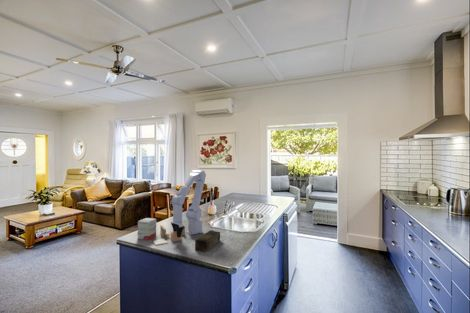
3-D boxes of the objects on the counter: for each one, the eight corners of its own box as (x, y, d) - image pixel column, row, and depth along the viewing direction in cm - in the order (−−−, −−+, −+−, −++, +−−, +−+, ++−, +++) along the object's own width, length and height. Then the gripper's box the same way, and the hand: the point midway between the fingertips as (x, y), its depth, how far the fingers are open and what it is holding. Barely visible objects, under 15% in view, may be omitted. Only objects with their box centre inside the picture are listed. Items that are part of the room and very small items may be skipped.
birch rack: (180, 230, 162) (180, 222, 162) (184, 235, 153) (184, 226, 153) (160, 233, 155) (160, 225, 155) (163, 238, 146) (164, 229, 146)
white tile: (164, 239, 145) (164, 238, 145) (167, 243, 139) (167, 242, 139) (153, 241, 141) (153, 240, 141) (155, 245, 135) (155, 244, 135)
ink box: (156, 235, 151) (156, 218, 151) (148, 240, 143) (148, 222, 143) (145, 234, 154) (145, 217, 153) (137, 238, 145) (137, 220, 145)
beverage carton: (220, 240, 144) (220, 230, 144) (206, 253, 127) (206, 241, 126) (209, 239, 147) (209, 229, 147) (194, 250, 129) (194, 239, 129)
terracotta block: (179, 238, 148) (179, 230, 148) (181, 240, 144) (181, 232, 144) (170, 239, 145) (170, 231, 145) (172, 241, 141) (172, 233, 141)
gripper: (168, 212, 148) (168, 232, 148) (174, 217, 136) (174, 240, 136) (178, 211, 152) (178, 231, 152) (185, 216, 139) (185, 238, 140)
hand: (177, 235), depth 144 cm, fingers open, 7 cm apart
